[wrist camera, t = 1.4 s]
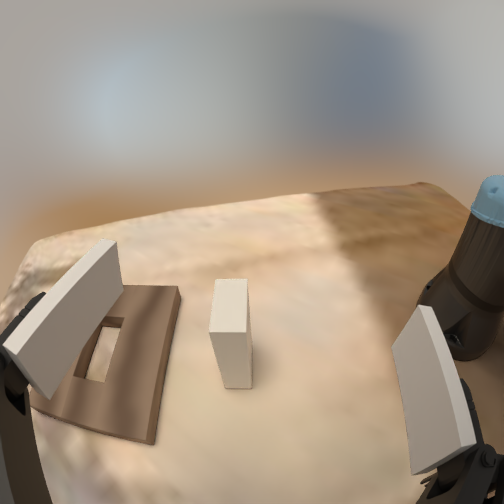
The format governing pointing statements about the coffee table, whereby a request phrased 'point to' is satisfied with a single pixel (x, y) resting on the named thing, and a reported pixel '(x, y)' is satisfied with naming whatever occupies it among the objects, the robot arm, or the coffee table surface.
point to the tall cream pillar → (232, 332)
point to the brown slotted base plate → (121, 369)
